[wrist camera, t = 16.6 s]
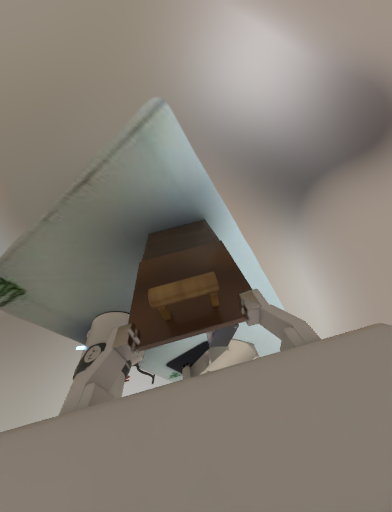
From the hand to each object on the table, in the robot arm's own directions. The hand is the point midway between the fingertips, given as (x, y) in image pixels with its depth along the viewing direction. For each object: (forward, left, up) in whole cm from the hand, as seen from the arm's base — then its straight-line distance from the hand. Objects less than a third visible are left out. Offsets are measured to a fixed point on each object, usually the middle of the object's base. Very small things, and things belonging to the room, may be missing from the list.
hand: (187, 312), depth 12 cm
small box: (-34, -4, -27) cm, 43 cm away
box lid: (-4, 0, -7) cm, 8 cm away
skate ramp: (-66, -1, -27) cm, 71 cm away
